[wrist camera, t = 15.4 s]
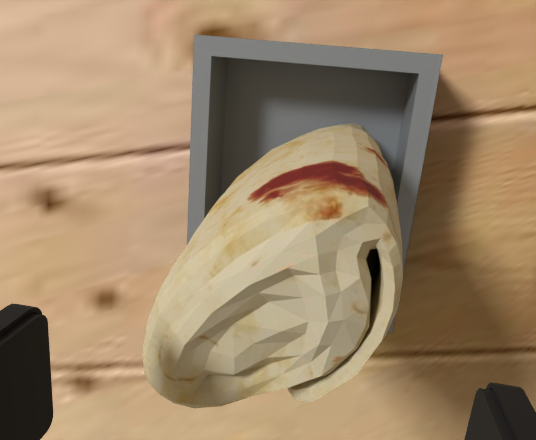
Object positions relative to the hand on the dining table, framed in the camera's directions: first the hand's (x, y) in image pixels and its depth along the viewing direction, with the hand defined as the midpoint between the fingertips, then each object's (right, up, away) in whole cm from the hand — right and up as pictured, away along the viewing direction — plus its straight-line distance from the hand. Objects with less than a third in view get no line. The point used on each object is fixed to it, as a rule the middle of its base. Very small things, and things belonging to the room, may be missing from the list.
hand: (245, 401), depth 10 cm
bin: (+3, +7, +22) cm, 23 cm away
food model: (+3, +7, +21) cm, 23 cm away
